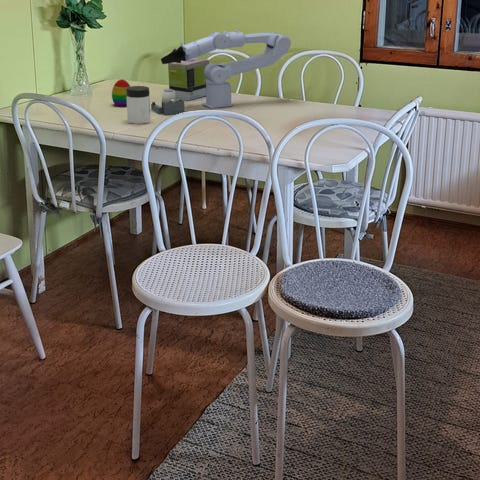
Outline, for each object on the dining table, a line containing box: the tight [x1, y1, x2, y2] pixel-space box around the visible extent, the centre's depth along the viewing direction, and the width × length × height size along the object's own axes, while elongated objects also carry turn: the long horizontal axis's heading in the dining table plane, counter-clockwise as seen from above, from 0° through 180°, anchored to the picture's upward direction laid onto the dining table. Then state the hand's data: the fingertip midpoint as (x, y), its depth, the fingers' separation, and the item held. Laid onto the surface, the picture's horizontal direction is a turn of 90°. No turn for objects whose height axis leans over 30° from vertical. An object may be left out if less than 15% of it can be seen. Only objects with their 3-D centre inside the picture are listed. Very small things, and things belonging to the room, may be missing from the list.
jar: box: [126, 85, 151, 125], centre depth 286 cm, size 9×8×12 cm
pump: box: [161, 88, 175, 103], centre depth 312 cm, size 5×5×6 cm
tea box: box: [167, 57, 210, 102], centre depth 326 cm, size 15×10×15 cm
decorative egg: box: [111, 79, 131, 107], centre depth 311 cm, size 8×8×10 cm
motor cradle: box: [150, 99, 186, 116], centre depth 302 cm, size 10×11×5 cm
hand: (163, 60), depth 299 cm, fingers open, 7 cm apart
